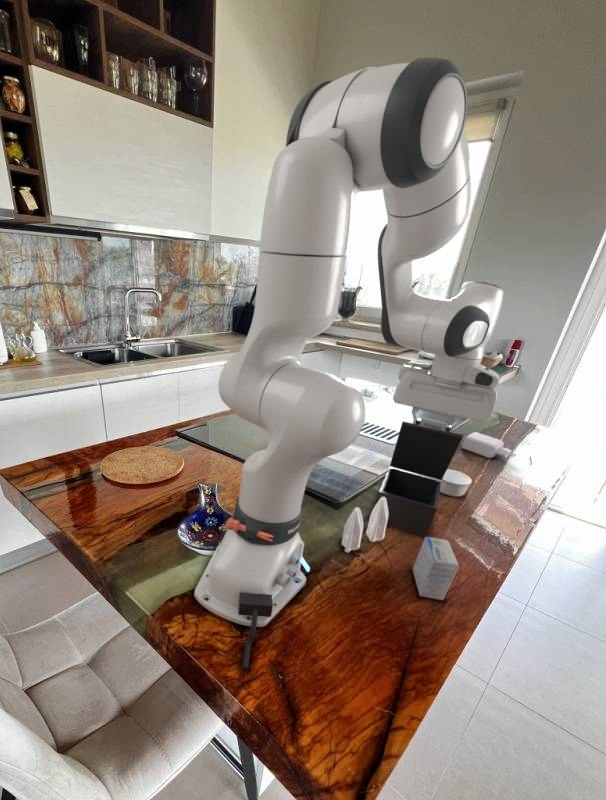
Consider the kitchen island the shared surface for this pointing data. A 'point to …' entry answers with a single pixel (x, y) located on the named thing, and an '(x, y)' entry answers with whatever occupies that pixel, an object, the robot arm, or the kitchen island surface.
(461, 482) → the ramekin
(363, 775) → the kitchen island surface
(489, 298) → the robot arm
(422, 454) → the black box lid
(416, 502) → the black open box
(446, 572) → the medicine box
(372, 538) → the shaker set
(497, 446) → the white bottle
